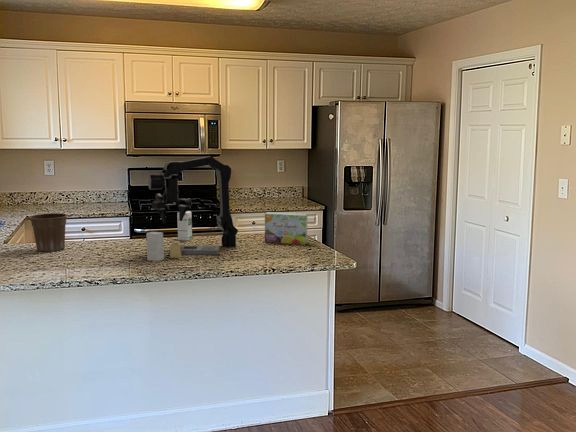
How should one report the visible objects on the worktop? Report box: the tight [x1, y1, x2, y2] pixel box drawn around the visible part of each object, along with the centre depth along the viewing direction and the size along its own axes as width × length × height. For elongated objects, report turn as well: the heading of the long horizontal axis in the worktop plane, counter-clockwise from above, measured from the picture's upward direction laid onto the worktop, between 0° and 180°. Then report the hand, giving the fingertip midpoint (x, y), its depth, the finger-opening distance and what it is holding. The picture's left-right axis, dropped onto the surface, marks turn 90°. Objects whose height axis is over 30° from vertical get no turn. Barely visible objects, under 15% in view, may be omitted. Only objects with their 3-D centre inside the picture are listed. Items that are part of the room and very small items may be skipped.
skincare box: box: [146, 231, 165, 262], centre depth 247 cm, size 6×4×12 cm
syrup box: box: [176, 210, 193, 241], centre depth 293 cm, size 6×6×14 cm
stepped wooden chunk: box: [169, 240, 183, 259], centre depth 253 cm, size 4×5×7 cm
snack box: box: [264, 211, 308, 246], centre depth 287 cm, size 21×6×15 cm, turn 77°
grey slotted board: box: [168, 244, 221, 256], centre depth 264 cm, size 22×11×2 cm, turn 92°
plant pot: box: [29, 212, 68, 253], centre depth 265 cm, size 16×16×16 cm
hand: (172, 222), depth 265 cm, fingers open, 9 cm apart
